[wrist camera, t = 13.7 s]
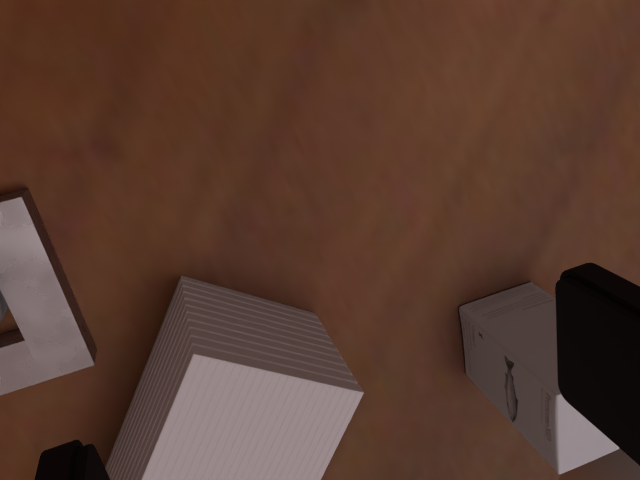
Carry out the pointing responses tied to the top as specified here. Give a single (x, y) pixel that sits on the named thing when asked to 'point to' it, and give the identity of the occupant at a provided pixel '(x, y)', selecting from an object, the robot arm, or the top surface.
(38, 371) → the socket plate
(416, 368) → the top surface
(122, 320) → the top surface
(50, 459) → the robot arm
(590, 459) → the supplement box
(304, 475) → the long grey block
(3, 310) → the rook chess piece
